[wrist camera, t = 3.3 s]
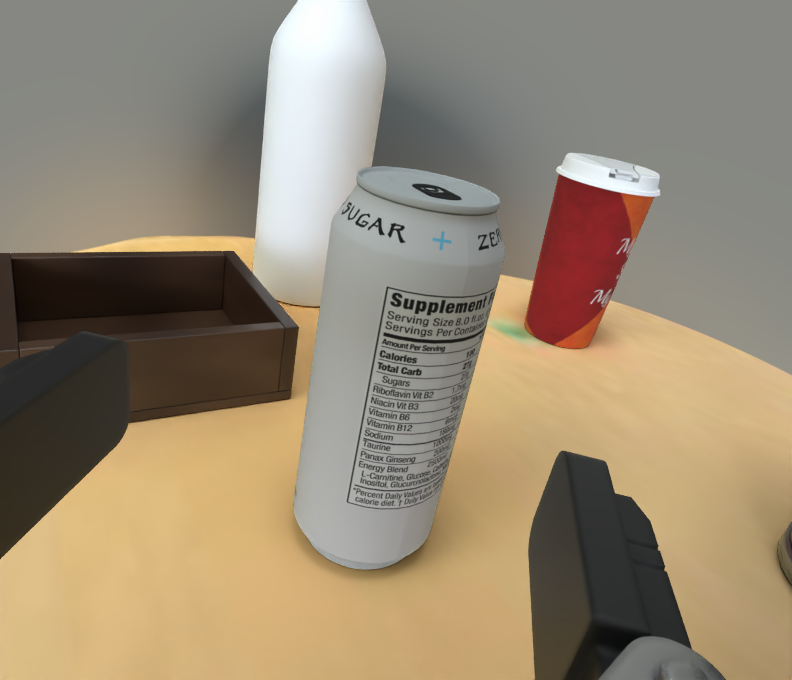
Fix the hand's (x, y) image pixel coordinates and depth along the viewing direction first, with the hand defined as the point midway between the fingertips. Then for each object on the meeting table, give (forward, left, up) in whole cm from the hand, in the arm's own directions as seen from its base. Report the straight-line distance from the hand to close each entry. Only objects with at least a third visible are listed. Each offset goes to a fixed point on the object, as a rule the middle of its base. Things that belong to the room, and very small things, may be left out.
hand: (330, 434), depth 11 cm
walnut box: (-1, -25, -12) cm, 28 cm away
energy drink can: (-7, -8, -13) cm, 17 cm away
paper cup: (-33, -23, -13) cm, 42 cm away
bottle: (-15, -34, -13) cm, 39 cm away
